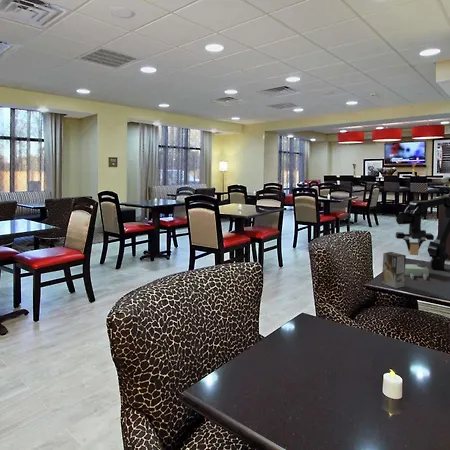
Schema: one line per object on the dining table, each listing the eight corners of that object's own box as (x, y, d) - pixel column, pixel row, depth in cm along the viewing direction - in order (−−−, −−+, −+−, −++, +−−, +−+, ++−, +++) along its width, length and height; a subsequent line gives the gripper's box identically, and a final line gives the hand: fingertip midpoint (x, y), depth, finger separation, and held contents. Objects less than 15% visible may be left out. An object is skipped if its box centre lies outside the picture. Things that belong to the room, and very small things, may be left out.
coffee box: (404, 286, 193) (406, 255, 191) (395, 288, 191) (397, 256, 188) (390, 281, 202) (391, 251, 199) (381, 283, 199) (382, 252, 196)
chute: (415, 252, 221) (416, 240, 220) (418, 255, 215) (419, 243, 213) (407, 251, 222) (408, 240, 221) (410, 254, 216) (411, 242, 214)
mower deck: (424, 271, 218) (425, 260, 217) (432, 280, 202) (433, 268, 201) (401, 270, 220) (401, 259, 219) (407, 279, 205) (407, 267, 204)
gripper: (399, 225, 210) (397, 253, 213) (437, 226, 205) (435, 255, 208) (396, 222, 221) (394, 249, 224) (432, 223, 216) (430, 250, 219)
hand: (413, 251), depth 218 cm, fingers closed on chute, 4 cm apart
